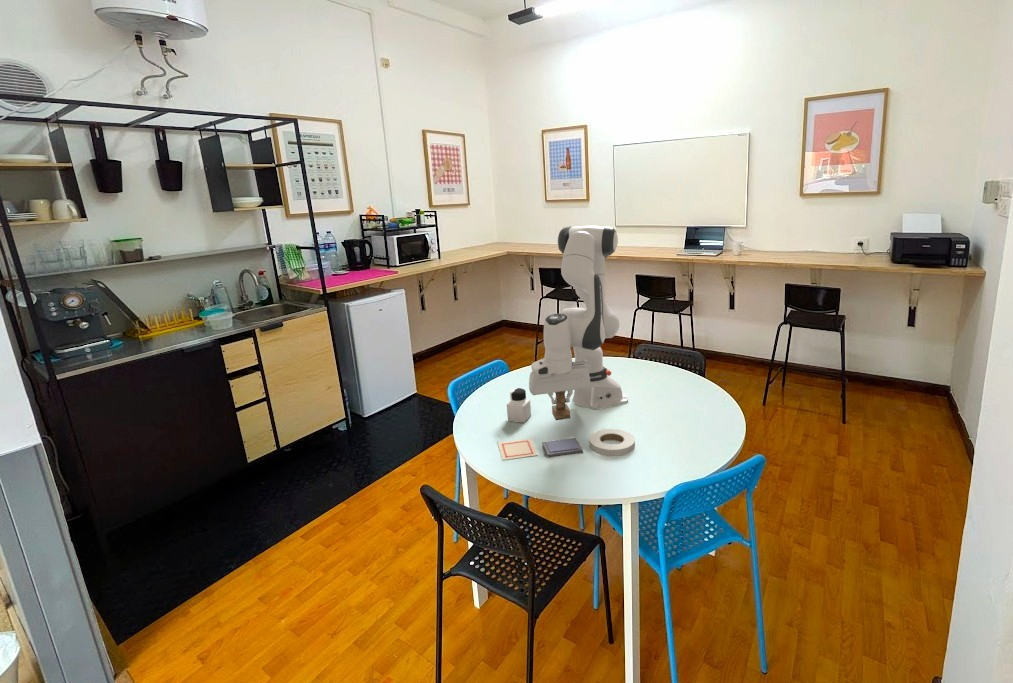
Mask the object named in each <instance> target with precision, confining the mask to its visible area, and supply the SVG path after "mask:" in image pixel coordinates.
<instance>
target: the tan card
mask: <svg viewBox="0 0 1013 683" xmlns="http://www.w3.org/2000/svg"><path fill="white" fill-rule="evenodd" d="M497 444H498V448H499V452H500V456H501V460H502V461H508V460H514V459H522V458H529V457H536V456H538V455H539V454H538V453H537V449H536V448H535V446H534V443H533V441H532V438H524V439H518V440H510V441H502V442H497Z"/></svg>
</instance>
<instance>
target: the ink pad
mask: <svg viewBox="0 0 1013 683" xmlns="http://www.w3.org/2000/svg"><path fill="white" fill-rule="evenodd" d="M541 445H542V448H543V450H544V451H545V454H546V456H547V458H548V459H551V458H556V457H557V458H558V457H563V456H564V457H565V456H571V455H579V454H584V449H583V447H582V446H581V445H580V443H579V440H578V439H577V437H570V438H562V439H555V440H548V441H542V442H541Z"/></svg>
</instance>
